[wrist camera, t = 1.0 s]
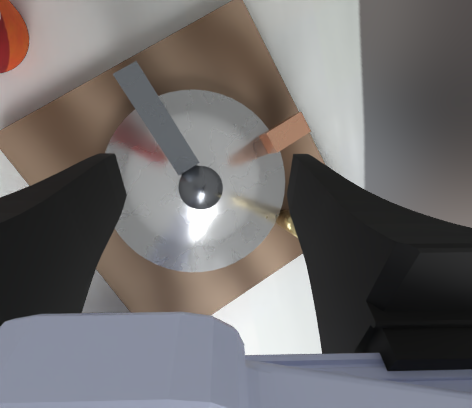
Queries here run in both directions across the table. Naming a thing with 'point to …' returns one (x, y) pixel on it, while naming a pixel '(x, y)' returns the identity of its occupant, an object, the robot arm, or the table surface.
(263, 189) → the flange plate
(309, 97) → the table surface
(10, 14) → the paper cup
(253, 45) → the base board
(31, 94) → the table surface
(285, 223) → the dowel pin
